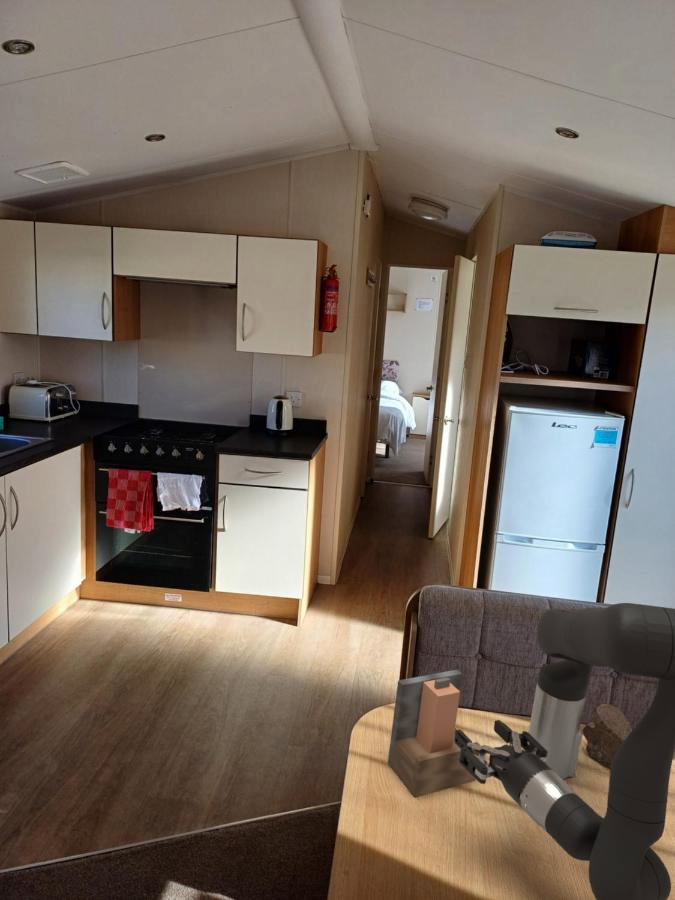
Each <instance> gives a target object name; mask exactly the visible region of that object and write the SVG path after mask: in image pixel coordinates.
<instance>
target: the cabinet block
mask: <svg viewBox="0 0 675 900" xmlns="http://www.w3.org/2000/svg"><path fill="white" fill-rule="evenodd" d="M460 696H461V690H460V691H459V690H458V689H456V688H455V687H454V686H453V685H452V684H451V683H450V679H449V678H442V679H437V680H432V681H427V682H423V690H422V697H421V705H420V712H419V719H418V727H417V734H416V738H417V739H418V740H419V741H420V743H421V744H422V745H423V746H424V747H425V748H426V749H427V750H428V752H429V753H430V754H431V753H435V752H439V751H443V750H447V749H451V748H452V744H453V738H454V731H455V728H456V723H457V716H458V710H459V702H460Z"/></svg>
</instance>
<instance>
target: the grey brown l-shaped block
mask: <svg viewBox="0 0 675 900" xmlns="http://www.w3.org/2000/svg"><path fill="white" fill-rule="evenodd" d="M442 678H449V679H450V683H451V684H452V685H453V686H454V687H455V688H456V689H458V690H459V691H460V692H461V686H462V680H463V672H461V671H460V670H459V669H453V670H447V671H443V672H437V673H432V674H425V675H421V676H416V677H411V678H405V679H399V680H397V688H396V693H395V694H396V695H395V702H394V710H393V718H392V719H393V720H392V726H391V734H390V744H389V748H388V749H389V750H388V758H387V764H388V766H389V767H390V768H391V769H392V770H393V772H394V773H395V774H396V776H397V777H398V778H399V780H400V781H401V782H402V784H403V785H404V786H405V787H406V789H407V790H408V791H409V793H410V794H411V796H413V798H416V797H420V796H424V795H428V794H431V793H435V792H438V791H442V790H445V789H449V788H453V787H456V786H459V785H463V784H465V783H471V782H473V781H477V780H476V779H475V778H474V777H473V776H472V775H471V774H470V773H469V772H468V771H467V770H466V769H465V768H464V767H463V766H462V765H461V764H460V763H459V758H460V751H461V749H460V748H459V746H457V745H456V744H455V742H454V739H455V731H456V730H458V729H457V728H456V727H455V731H454V738H453V744H452V748H451V749H447V750H443V751H439V752H435V753H431V754H430V753H429V752H428V750H427V749H426V748H425V747H424V746H423V745H422V744H421V743H420V741H419V740H418V739H417V738H416V734H417V727H418V719H419V712H420V705H421V697H422V690H423V682H427V681H432V680H437V679H442ZM473 743H474V744H477V745H479V746H482V745H481V744H480V743H479V742H478V741H476V742H473ZM473 754H474V755H477V756H480V753H478V752H476V751H474V753H473ZM467 761H468V762H469V760H467Z"/></svg>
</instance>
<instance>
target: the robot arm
mask: <svg viewBox="0 0 675 900" xmlns="http://www.w3.org/2000/svg"><path fill="white" fill-rule="evenodd" d="M536 637H537V642H538V646H539V647H540V649H541V650H542V653H544V654H545V656H548V657H551V658H555V659H562V660H561V661H559V662H553V663H548V664H546V665H543V666H542V667H541V668H540V669H539V672H538V674H537V675H538V676H537V682H536V687H535V691H534V692H535V693H534V698H533V699H534V700H533V703H532V704H533V705H532V711H531V716H530V722H529V726H528V727H529V728H528V731H526V730H525V731H524V730H523V731H522V732H521V733H519V732H518V731H516V730H512V729H511V728H510V727H509V726H508V725H507V724H506V723H505V722H503V721H501V720H500V719H496V720H495V721H494V725H493V731H494V733H495V734H496V735H498V737H499V738H501V739H502V740H503V741H504V742H505V743H506V744H503V745H502V746H496V747H492V746H489V745H486V744H483V745H481V746H479V745H477V744H474V743H475V742H473V741H472V739H470V737H469V736H467V734H466V733H465V732H463V731H462V729H457V730H456V731H455V739H454V742H455V744H456V745H457V746H459V748H460V749H461V751H460V758H459V763H460V764H461V765H462V766H463V767H464V768H465V769H466V770H467V771H468V772H469V773H470V774H471V775H472V776H473V777H474V778H475V779H476V780H475V781H477V782H478V783H480V784H482V785H484V784H486V783H487V779H489V778H491V777H493V778H495V779H497V780H498V781H500V782H501V784H502V785H503V788H504V790H505V791H506V793H507V794H508V795H509V797H511V799H512V800H513V801H514V802H515V803H516V804H517V805H518V806H519V807H520V808H521V809H522V810H523V811H524V812H525V813H526V814H527V815H528V816H529V818H531V819H532V821H534V823H535V824H536V825H538V826H539V827H540V828H542V829H543V830H544V831H545V832H546V833H547V834H548V835H549V836H550V837H551V838H552V839H553V840H554V841H555V842H556V843H557V844H558V845H559V846H560V847H561V848H562V849H563V851H565V852H566V853H567V855H569V856H570V857H571V858H573V859H574V860H577V861H583V862H584V861H585V862H588V879H589V884H590V885H589V886H590V888H591V892H592V894H593V896H594V898H595V900H668V898H669V896H670V894H671V892H672V880H671V876H670V873H669V871H668V869H667V866H666V865H665V863H664V862H663V859H661V857H660V856H659V855H658V853H657V852H655V851H654V849H653V848H652V846H653V845H654V844H655V843H657V842H658V841H660V839H661V838H662V837H663V835H664V831H665V825H666V817H667V807H668V806H667V805H668V796H669V785H670V777H671V772H672V765H673V759H674V756H675V608H672V607H666V606H665V607H664V606H656V605H651V604H650V605H648V604H641V603H634V602H633V603H632V602H619V603H615V604H612V605H609V606H607V607H587V608H582V609H575V610H567V609H566V610H565V609H560V608H551V609H550V608H549V609H547V610H546V611H545V612H543V614H542V615H541V616H540V617H539V621H538V624H537V628H536ZM594 666H595V667H598V668H600V667H601V668H606V667H607V668H609V669H612V670H614V671H616V672H619V673H622V674H625V675H629V676H630V675H631V676H639V677H647V678H655V679H658V683H657V689H656V692H655V695H654V698H653V700H652V702H651V704H650V706H649V707H648V709H647V711H646V712H645V714H644V715H643V717H642V718H641V719H640V721H638V723H637V724H636V726H635V727H634V728H633V729H632V732H631V733H630V734H629V735H628V736H627V738H626V739H625V740H624V742H623V743H622V744H621V746H620V747H619V749H618V751H617V752H616V754H615V757H614V759H613V762H612V765H610V766H611V767H610V772H609V782H608V793H607V803H606V804H607V805H606V812H605V815H604V817H603V816H601V815H599V813H598V812H596V811H595V809H594V808H593V807H591V806H590V804H588V803H587V802H586V801H585V800H584V799H582V797H580V796H579V795H578V794H577V792H575V790H574V789H573V788H572V787H571V785H569V784H568V783H567V782H566V780H565V779H567V778H575V775H576V769H577V764H578V759H579V755H580V754H579V753H580V749H581V745H582V738H583V732H582V731H581V728H580V727H581V723H582V717H583V711H584V707H585V702H586V696H587V695H586V694H587V690H588V687H589V686H590V685H589V684H590V680H591V675H592V672H593V667H594ZM508 743H509V744H508ZM474 751H476V752H478V753H480V754H479V756H477V755H474V754H473V753H474ZM487 754H488V755H489V759H488V761H487V760H486V755H487ZM467 760H469V762H468V761H467Z"/></svg>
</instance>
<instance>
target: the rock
mask: <svg viewBox="0 0 675 900" xmlns="http://www.w3.org/2000/svg"><path fill="white" fill-rule="evenodd" d="M632 730H633V729H632V726H631V724H630V722H629V720H628V719H627V718H626V716H625V715H624V714H623V713H622V711H621V710H620V709H619V708H618V707H616V706H614V705H613V704H610V703H602V704H600V705H598V706H596V707H594V708H593V710H592V713H591V715H590V717H589V719H588V721H587V722H586V723H585V726H584V727H583V728H582V735H584V738H585V740H586V742H587V745H586V748H585V750H586V751H587V753H588V754H589V755H590V756H591V758H593V759H596V760H597V761H598V762H599V763H602V764H604V765H608V766H611V765H612V762H613V759H614V757H615V754H616V752H617V751H618V749H619V747H620V746H621V744H622V743H623V742H624V740H625V739H626V738H627V736H628V735H629V734H630V733H631V732H632Z"/></svg>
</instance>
